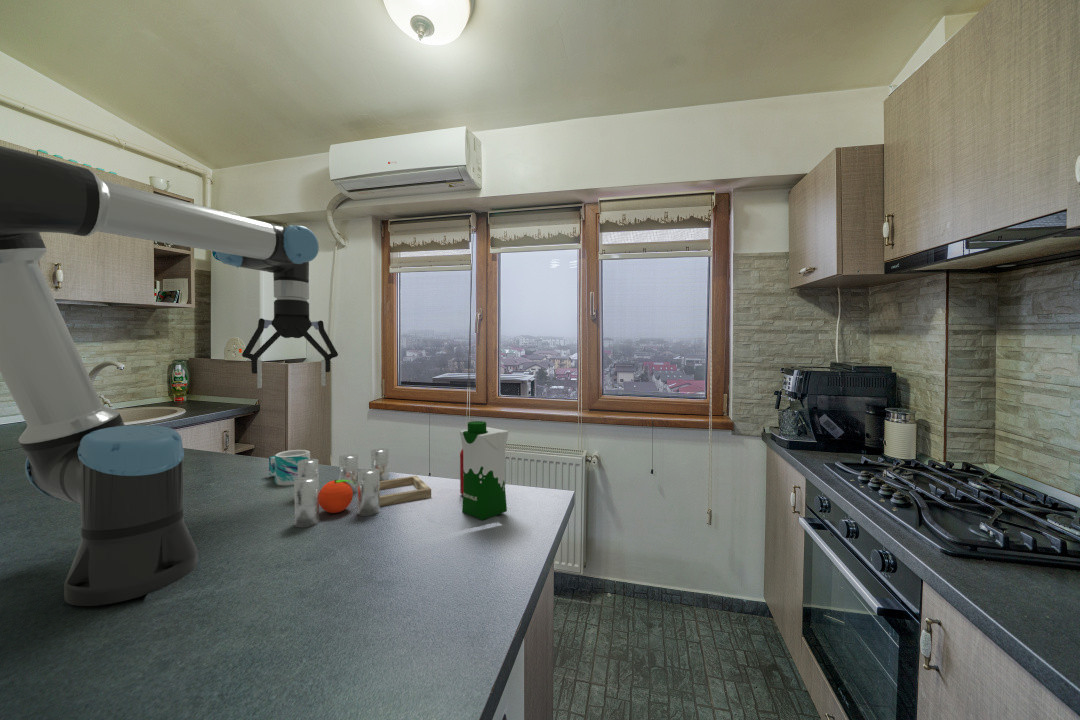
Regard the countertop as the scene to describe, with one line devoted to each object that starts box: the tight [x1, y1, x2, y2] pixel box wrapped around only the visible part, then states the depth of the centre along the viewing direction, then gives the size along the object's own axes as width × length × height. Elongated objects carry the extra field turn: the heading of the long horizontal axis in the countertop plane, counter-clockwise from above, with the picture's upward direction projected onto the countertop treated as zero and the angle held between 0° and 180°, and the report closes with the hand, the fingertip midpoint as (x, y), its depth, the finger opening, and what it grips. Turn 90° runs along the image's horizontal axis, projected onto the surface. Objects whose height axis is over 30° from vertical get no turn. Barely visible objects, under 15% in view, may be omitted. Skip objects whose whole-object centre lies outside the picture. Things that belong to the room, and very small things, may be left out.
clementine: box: [319, 479, 356, 514], centre depth 95 cm, size 8×7×7 cm
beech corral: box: [380, 475, 432, 507], centre depth 106 cm, size 13×13×2 cm
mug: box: [268, 449, 311, 486], centre depth 115 cm, size 8×12×8 cm
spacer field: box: [293, 447, 390, 529], centre depth 101 cm, size 24×22×9 cm
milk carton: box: [459, 420, 509, 521], centre depth 94 cm, size 9×9×20 cm
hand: (292, 386), depth 105 cm, fingers open, 13 cm apart
